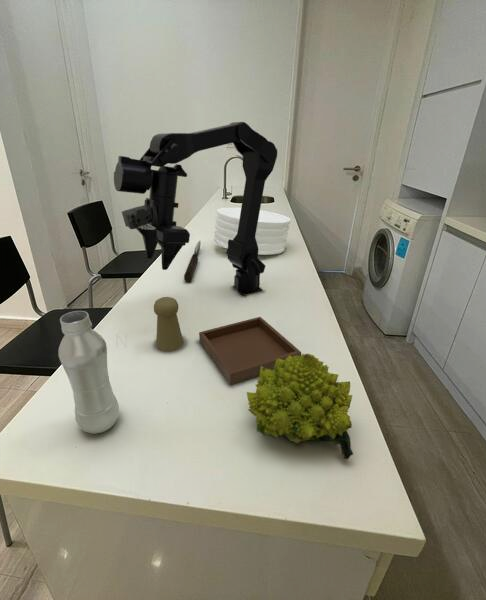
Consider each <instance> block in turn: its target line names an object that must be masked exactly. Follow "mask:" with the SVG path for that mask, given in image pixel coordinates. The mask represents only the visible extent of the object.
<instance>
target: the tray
mask: <svg viewBox="0 0 486 600" xmlns="http://www.w3.org/2000/svg"><path fill="white" fill-rule="evenodd" d="M198 338H199V343H200V345H201V346H202V347H203V349H204V350H205V352H206V353H207V355H208V356H209V358H210V359H211V360H212V362H213V363H214V364H215V366H216V367H217V369H218V370H219V372H220V373H221V374H222V375H223V377H224V378H225V380H226V381H227V382H228V384H229V386H232V385H235V384H238V383H241V382H244V381H248V380H251V379H254V378H258V377H260V368H261V366H262V367H264V368H265V369H269V370H274V366H275V362H276V358H279V359H282V360H284V361H285V358H287V357H288V356H289V355H290V356H292V357H293V355H294V356H296V355H297V356H301V355H302V351H301V350H299V349H298V347H296V346H295V345H294V344H292V343H291V342H290V341H289V340H288V339H287V338H286V337H284V336H283V334H281V333H280V332H279V331H278V330H276V328H274V326H272V325H271V324H270V323H268V321H266V320H265V319H264V318H263V317H261V316H258V317H253V318H249V319H246V320H241V321H238V322H233V323H230V324H226V325H221V326H218V327H214V328H210V329H206V330H203V331H199V332H198Z"/></svg>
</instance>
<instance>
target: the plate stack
mask: <svg viewBox="0 0 486 600" xmlns="http://www.w3.org/2000/svg"><path fill="white" fill-rule="evenodd" d="M240 213H241V207H236V206H235V207H233V206H232V207H231V206H230V207H220V208H217V210H216V217H215V221H216V222H215V224H214V233H213V234H214V236H213V242H214V244H216V245H218V246H219V247H221V248H224V249H226V250H227V249H228V240H229V239H231V240H233V239H234V238H235V236H236V235H237V232H238V226H239V220H240ZM291 221H292V220H291V218H290V217H289V216H286V215H284V214H281V213H278V212H273V211H269V210H262V209H260V212H259V218H258V224H257V229H256V235H255V238H256V242H257V245H258V255H265V256H267V255H277V254H281V253H283V252H285V250H286V244H287V238H288V235H289V231H290V225H291Z"/></svg>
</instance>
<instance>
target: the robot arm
mask: <svg viewBox="0 0 486 600" xmlns="http://www.w3.org/2000/svg"><path fill="white" fill-rule="evenodd" d="M229 144H233V146H234V148H235V151H236V152H238V153H239V154H240V155H241V156H242V169H243V173H244V176H245V181H244V182H245V183H244V190H243V195H242V201H241V207H240V208H241V213H240V220H239V226H238V232H237V235H236V236H235V238H234V239H233V240H231V239H229V240H228V249H227V248H226V251H225V254H226V255H227V260H228V261H229V263H231V265H232V267H233V268H234V269H235V275H234V277H233V280H234V283H233V286H232V288H233V289H234V290H236V291H237V292H238V293H239V294H240V295H241V296H246V295H247V296H248V295H252V294H256V293H260V292H263V288H261V287H260V283H261V281H260V280H261V275H262V274H263V273H264V272H265V269H266V264H264V263H263V262H262V261H261V260H260V258H259V254H258V245H257V242H256V238H255V235H256V229H257V224H258V218H259V212H260V210H261V207H262V202H263V201H262V200H263V194H264V189H265V184H266V181H267V179H268V177H270V175H271V174H272V172H273V170H274V168H275V164H276V162H277V158H278V148H277V147H276V145H275V144H274V142H272V141H270V140H268V139H267V138H266V137H265V136H263V135H262V134H260V133H259V132H257V131H256V130H254V129H253V128H252V127H251V126H250V125H249V124H248V123H247V122H245V121H235V122H234V121H233V122H230V123H229V124H225V125H220V126H216V127H212V128H207V129H203V130H198V131H193V132H170V133H169V132H167V133H157V134H155V135H153V136H152V138H151V140H150V142H149V148H147V150H146V151H145V152H144V154H143V155H142V156H141V157H140V159H135V158H131V157H129V156H123V155H118V158H117V163H116V165H115V170H114V172H113V185H114V188H115V190H116V191H117V192H121V193H130V194H131V193H132V194H141V195H143V194H146V192H147V191H149V197H146V198H145V199H144V204H143V205H140V206H136V207H132V208H129V209H125V210H122V211H121V215H122V218H123V222H124V225H125V227H127V228H129V229H130V230H136V231H138V232H139V233H140V235H141V236H142V240H143V244H144V245H143V246H144V250H145V254H146V255H145V256H146V259H150V260H151V259H153V256H154V253H155V252H156V249H157V246H158V245H159V246H160V249H161V250H160V252H161V253H160V255H161V269H162V271H167V270H169V267H170V266H171V265H172V263H173V261H174V259H175V258H176V256H177V255H178V253H179V252H180V251H181V249H183V247H184V246H186V245H187V244H189V243H190V238H191V233H190V232H189V231H188V229H186V228H184V227H183V226H177V221H176V220H174V217H175V209H179V202H176V197H177V187H178V179H179V177H182V178H187V177H188V173H187V172H186V171H185V170H184V168H183V167H182V164H178V163H180V162H182V161H185V160H186V159H188V158H190V157H191V156H192V155H194V154H195V153H198V152H202V151H205V150H210V149H213V148H216V147H220V146H225V145H229ZM168 164H169V165H174V166H167V165H168ZM152 167H159V168H158V169H152Z"/></svg>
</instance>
